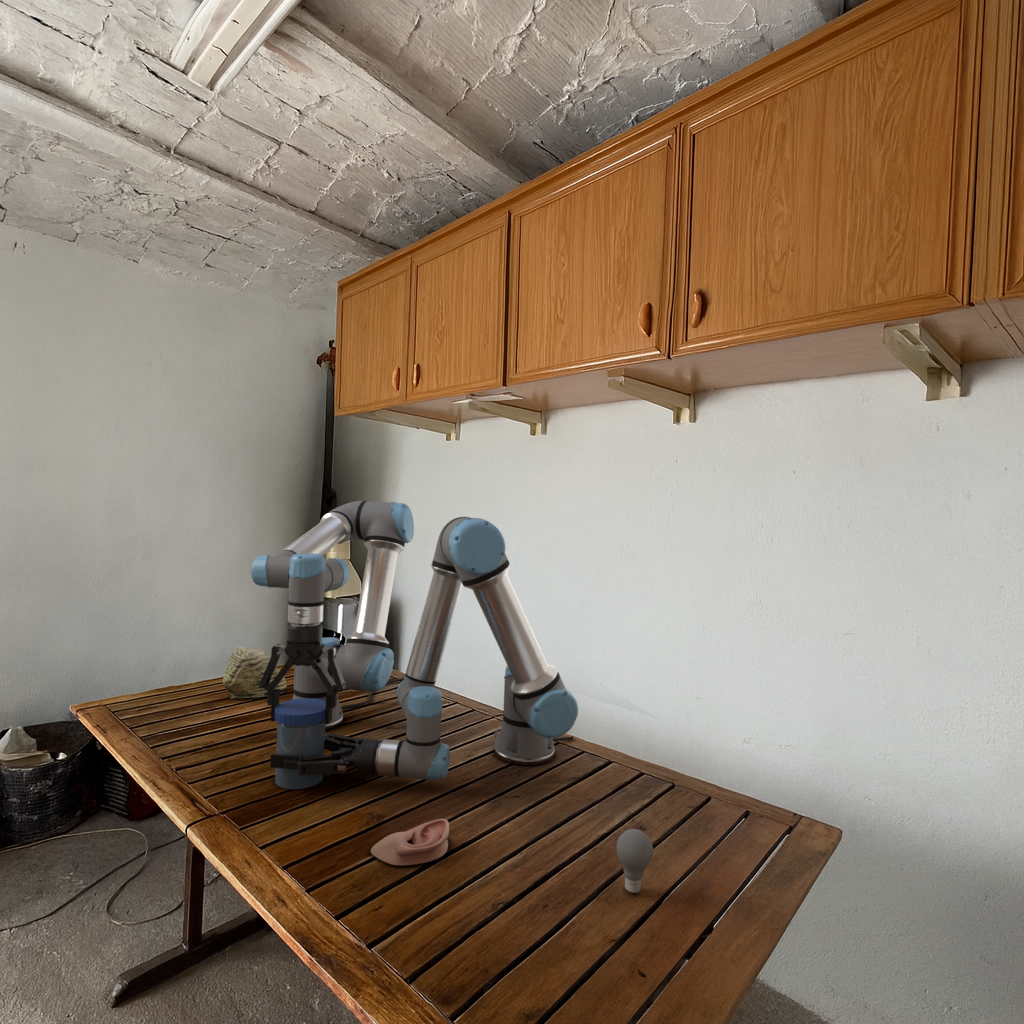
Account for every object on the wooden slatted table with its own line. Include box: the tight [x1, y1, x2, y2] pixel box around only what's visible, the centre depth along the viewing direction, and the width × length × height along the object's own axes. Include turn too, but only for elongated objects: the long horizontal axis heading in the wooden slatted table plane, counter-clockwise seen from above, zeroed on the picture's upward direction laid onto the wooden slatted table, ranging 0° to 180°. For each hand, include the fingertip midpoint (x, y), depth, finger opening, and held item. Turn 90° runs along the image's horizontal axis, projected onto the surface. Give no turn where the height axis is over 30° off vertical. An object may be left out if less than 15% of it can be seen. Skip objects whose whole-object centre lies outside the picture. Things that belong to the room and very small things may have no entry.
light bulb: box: [615, 828, 654, 894], centre depth 106 cm, size 6×6×10 cm
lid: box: [274, 698, 326, 726], centre depth 141 cm, size 11×12×2 cm
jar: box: [274, 720, 326, 790], centre depth 142 cm, size 10×10×15 cm
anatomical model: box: [370, 818, 450, 867], centre depth 115 cm, size 13×4×12 cm
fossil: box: [222, 646, 288, 699], centre depth 198 cm, size 9×18×15 cm, turn 132°
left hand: (301, 720), depth 141 cm, fingers closed on lid, 11 cm apart
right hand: (282, 750), depth 142 cm, fingers closed on jar, 10 cm apart
